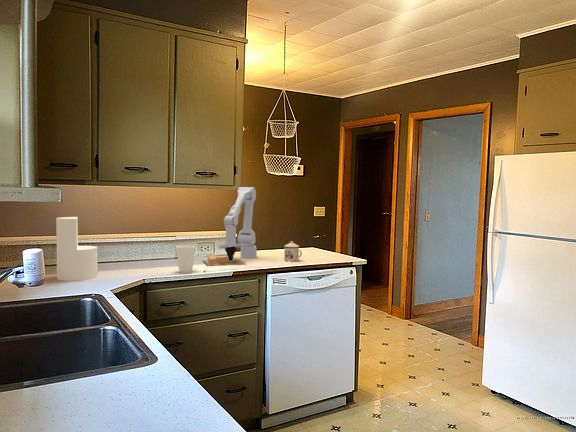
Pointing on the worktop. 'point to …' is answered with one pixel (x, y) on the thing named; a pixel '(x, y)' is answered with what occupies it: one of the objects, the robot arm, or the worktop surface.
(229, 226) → the robot arm
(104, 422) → the worktop surface
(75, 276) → the cream l-shaped block
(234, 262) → the board
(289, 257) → the teacup with lid
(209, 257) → the t block
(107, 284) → the worktop surface
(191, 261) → the foam cup
